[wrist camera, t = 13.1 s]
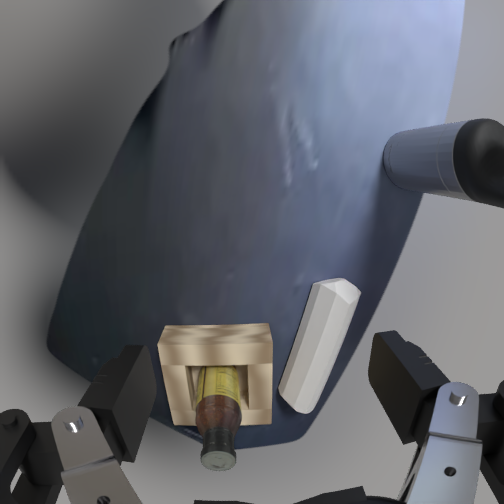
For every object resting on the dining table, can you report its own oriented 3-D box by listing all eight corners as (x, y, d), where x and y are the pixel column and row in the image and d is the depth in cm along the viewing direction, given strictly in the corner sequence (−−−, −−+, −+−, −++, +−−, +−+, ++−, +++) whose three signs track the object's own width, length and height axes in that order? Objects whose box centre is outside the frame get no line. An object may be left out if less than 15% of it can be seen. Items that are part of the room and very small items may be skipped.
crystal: (327, 412, 50) (379, 288, 44) (297, 424, 46) (351, 289, 40) (301, 389, 56) (344, 270, 50) (271, 397, 51) (313, 269, 46)
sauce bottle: (216, 391, 50) (211, 483, 31) (192, 367, 49) (175, 459, 30) (247, 372, 50) (255, 466, 30) (223, 347, 48) (220, 440, 29)
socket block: (268, 323, 49) (272, 342, 43) (268, 401, 53) (271, 423, 47) (165, 325, 48) (157, 344, 42) (178, 402, 52) (174, 424, 46)
